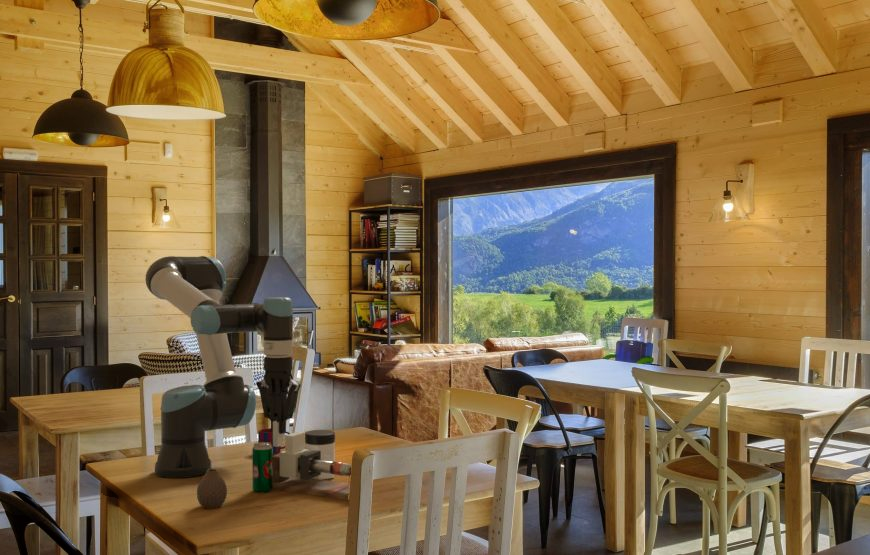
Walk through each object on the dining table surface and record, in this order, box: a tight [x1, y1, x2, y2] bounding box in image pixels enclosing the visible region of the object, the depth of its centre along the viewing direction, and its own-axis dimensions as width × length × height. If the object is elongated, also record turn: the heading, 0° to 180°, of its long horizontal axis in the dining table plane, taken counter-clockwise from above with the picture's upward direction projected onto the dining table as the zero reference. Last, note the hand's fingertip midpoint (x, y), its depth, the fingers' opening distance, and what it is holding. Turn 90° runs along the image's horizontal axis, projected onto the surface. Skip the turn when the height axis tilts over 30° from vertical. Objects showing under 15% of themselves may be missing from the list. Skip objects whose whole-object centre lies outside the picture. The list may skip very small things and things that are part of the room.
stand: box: [272, 453, 351, 501], centre depth 218 cm, size 26×10×8 cm, turn 63°
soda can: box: [251, 442, 274, 494], centre depth 216 cm, size 5×5×12 cm
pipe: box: [298, 457, 351, 477], centre depth 218 cm, size 24×3×3 cm, turn 63°
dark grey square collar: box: [300, 450, 321, 480], centre depth 219 cm, size 2×6×6 cm, turn 153°
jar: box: [304, 429, 336, 480], centre depth 231 cm, size 9×8×12 cm
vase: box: [196, 468, 228, 510], centre depth 202 cm, size 7×7×9 cm
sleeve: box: [279, 431, 310, 478], centre depth 221 cm, size 5×6×11 cm
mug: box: [257, 427, 291, 455], centre depth 261 cm, size 7×10×7 cm
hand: (278, 445), depth 224 cm, fingers closed
